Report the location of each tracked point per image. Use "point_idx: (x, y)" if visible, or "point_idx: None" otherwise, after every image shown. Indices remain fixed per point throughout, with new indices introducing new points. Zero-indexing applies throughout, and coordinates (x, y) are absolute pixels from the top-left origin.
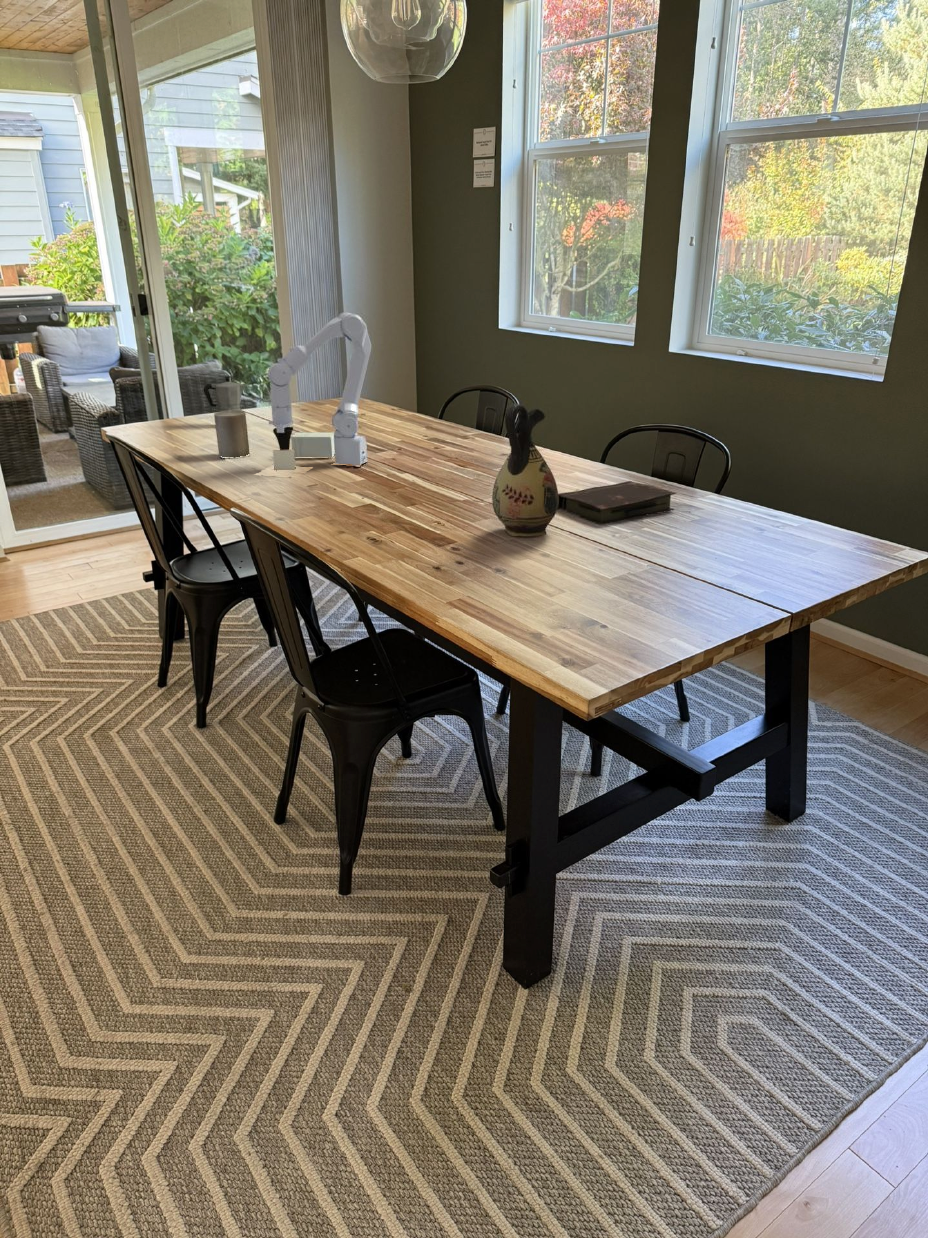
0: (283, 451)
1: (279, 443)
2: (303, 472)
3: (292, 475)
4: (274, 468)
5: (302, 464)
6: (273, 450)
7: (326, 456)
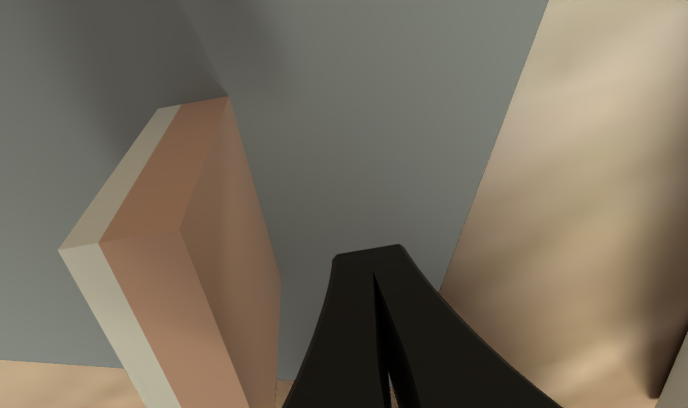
0: (136, 380)
1: (306, 372)
2: None
3: None
4: (148, 122)
5: (540, 258)
6: (131, 238)
7: (679, 399)
